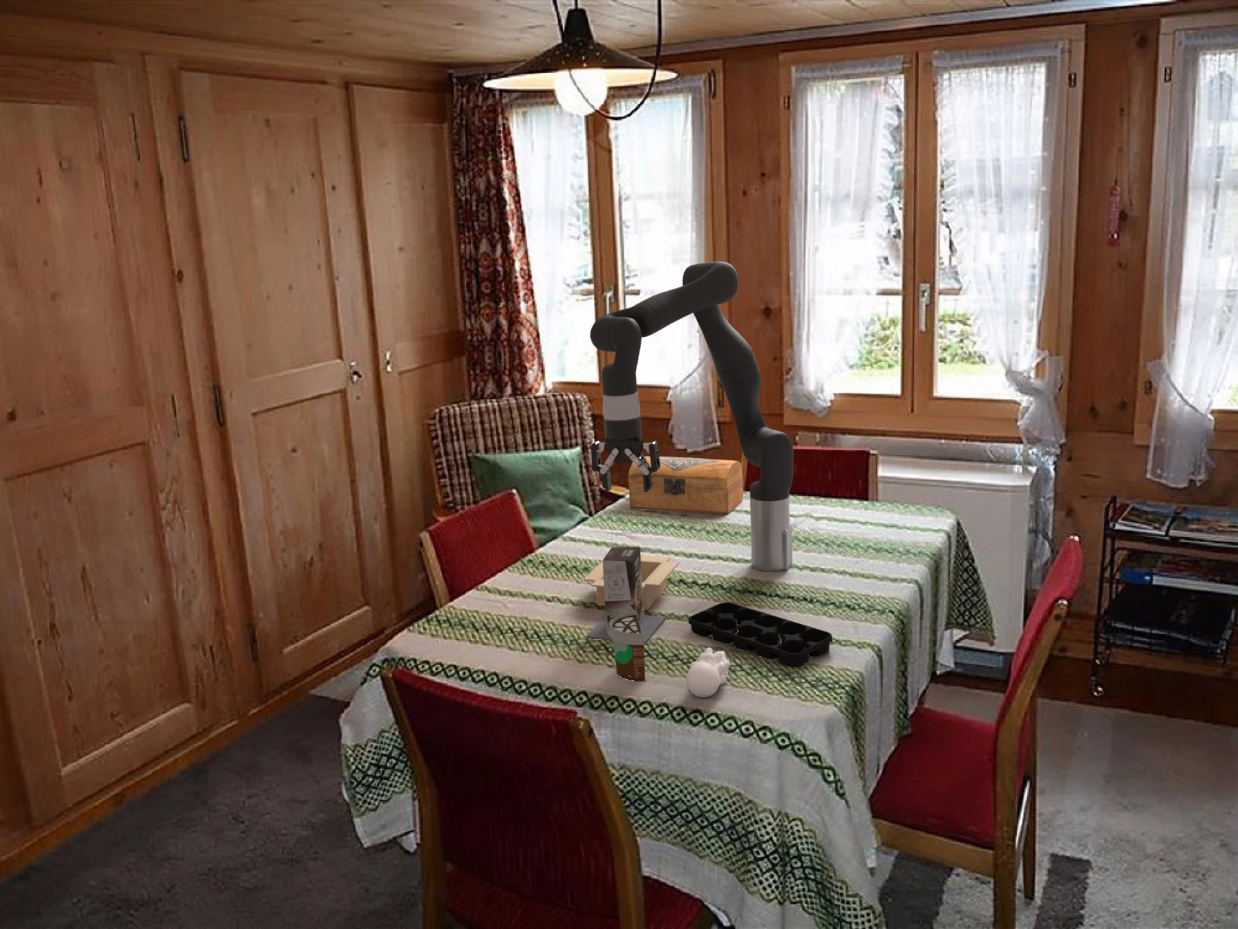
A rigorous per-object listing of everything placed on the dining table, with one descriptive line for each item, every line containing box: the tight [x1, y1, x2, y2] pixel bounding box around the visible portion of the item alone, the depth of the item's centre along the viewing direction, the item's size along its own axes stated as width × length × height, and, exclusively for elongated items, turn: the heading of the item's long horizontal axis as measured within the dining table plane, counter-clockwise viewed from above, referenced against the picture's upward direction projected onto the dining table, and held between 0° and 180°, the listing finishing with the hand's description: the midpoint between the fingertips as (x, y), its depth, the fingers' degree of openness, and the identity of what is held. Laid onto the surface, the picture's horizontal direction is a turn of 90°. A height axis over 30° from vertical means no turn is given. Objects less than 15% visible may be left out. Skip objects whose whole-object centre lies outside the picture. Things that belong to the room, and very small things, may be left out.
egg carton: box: [687, 601, 834, 669], centre depth 216 cm, size 18×30×4 cm, turn 55°
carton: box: [583, 555, 679, 611], centre depth 243 cm, size 18×21×6 cm
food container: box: [608, 611, 646, 682], centre depth 204 cm, size 12×6×10 cm, turn 5°
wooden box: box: [627, 455, 744, 516], centre depth 310 cm, size 30×16×14 cm, turn 67°
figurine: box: [685, 647, 731, 698], centre depth 196 cm, size 7×7×12 cm
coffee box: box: [602, 546, 645, 633], centre depth 223 cm, size 9×6×16 cm
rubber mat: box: [585, 614, 666, 645], centre depth 225 cm, size 13×13×1 cm
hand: (627, 490), depth 224 cm, fingers open, 8 cm apart
